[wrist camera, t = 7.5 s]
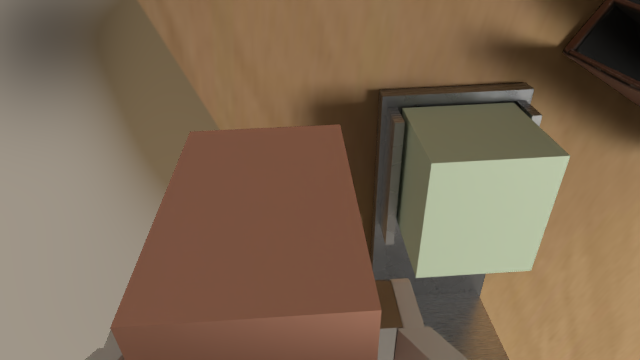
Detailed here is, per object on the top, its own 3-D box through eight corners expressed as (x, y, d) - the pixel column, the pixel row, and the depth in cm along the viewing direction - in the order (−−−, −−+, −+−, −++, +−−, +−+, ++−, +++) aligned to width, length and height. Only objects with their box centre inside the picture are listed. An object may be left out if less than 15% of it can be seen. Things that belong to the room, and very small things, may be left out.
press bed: (379, 89, 38) (410, 157, 28) (526, 82, 38) (605, 146, 29) (367, 310, 54) (384, 401, 44) (470, 303, 54) (509, 392, 45)
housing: (340, 124, 13) (381, 310, 7) (339, 285, 17) (366, 490, 11) (190, 131, 13) (110, 327, 7) (224, 292, 17) (190, 504, 11)
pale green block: (402, 108, 37) (431, 163, 29) (513, 102, 37) (570, 155, 30) (393, 214, 43) (415, 282, 36) (487, 208, 44) (529, 274, 36)
